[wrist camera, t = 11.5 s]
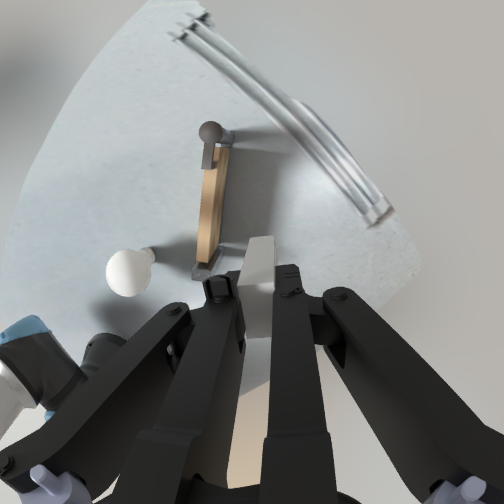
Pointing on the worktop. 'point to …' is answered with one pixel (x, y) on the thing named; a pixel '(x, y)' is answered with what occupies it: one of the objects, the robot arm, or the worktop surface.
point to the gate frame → (208, 269)
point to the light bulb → (130, 271)
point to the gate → (211, 190)
